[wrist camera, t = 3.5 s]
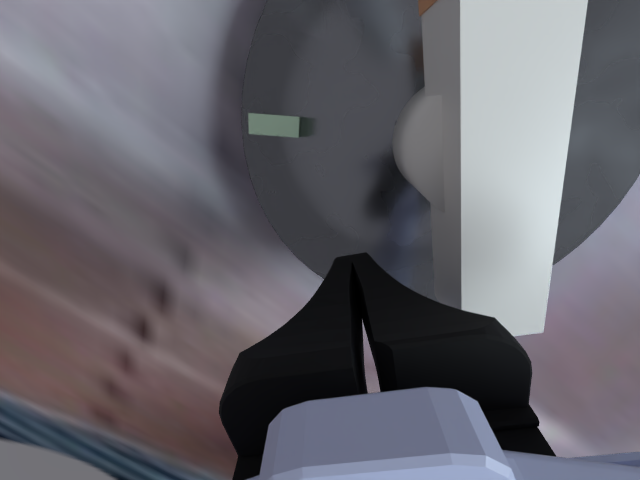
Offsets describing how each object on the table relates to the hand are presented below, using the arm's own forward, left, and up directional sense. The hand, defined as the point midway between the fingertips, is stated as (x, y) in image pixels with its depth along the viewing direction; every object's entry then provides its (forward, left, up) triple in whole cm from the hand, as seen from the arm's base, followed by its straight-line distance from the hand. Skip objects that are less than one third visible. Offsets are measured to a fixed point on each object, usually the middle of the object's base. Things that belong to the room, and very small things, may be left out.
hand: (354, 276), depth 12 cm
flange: (+4, -4, -3) cm, 7 cm away
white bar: (+5, -4, -1) cm, 6 cm away
